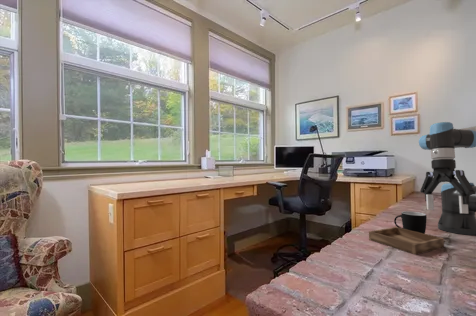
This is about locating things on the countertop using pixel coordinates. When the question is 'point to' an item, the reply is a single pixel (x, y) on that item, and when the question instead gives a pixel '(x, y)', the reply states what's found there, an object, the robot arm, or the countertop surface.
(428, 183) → the robot arm
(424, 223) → the mug
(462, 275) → the countertop surface
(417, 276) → the countertop surface
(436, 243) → the walnut tray
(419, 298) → the countertop surface
